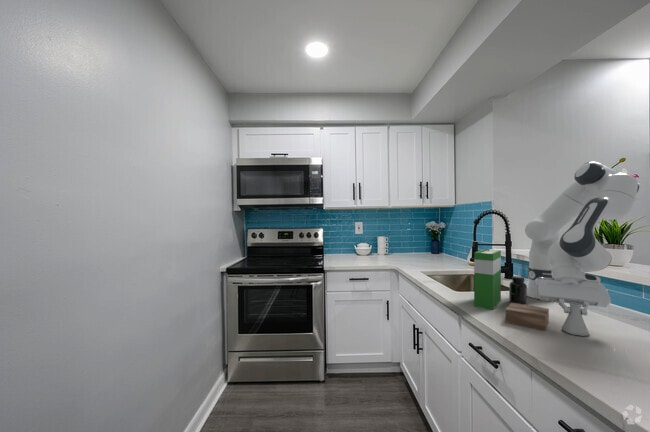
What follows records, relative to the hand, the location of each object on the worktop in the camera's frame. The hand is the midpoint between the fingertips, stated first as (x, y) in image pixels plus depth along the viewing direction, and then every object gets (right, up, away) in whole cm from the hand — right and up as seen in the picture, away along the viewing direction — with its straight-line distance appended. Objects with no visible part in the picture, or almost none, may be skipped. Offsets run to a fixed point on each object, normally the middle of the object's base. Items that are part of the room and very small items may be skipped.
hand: (575, 313), depth 100 cm
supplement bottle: (+4, -7, +36) cm, 37 cm away
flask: (0, -7, +1) cm, 7 cm away
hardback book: (-11, -7, +34) cm, 37 cm away
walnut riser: (-10, -7, +10) cm, 16 cm away
